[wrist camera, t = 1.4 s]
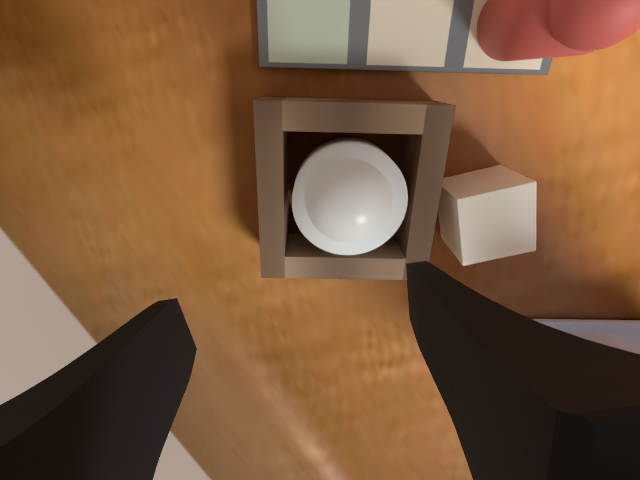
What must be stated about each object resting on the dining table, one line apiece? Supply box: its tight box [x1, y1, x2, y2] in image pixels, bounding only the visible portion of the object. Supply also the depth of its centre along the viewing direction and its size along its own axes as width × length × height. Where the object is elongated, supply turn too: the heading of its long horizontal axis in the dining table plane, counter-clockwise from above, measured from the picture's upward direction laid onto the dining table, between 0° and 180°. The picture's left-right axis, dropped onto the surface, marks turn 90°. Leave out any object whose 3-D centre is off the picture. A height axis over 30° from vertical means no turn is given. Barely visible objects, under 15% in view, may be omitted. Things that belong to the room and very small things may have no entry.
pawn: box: [477, 0, 640, 61], centre depth 13 cm, size 3×3×7 cm
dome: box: [292, 137, 408, 255], centre depth 17 cm, size 5×5×4 cm
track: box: [257, 0, 552, 75], centre depth 16 cm, size 14×4×1 cm, turn 89°
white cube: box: [438, 165, 537, 266], centre depth 18 cm, size 4×4×4 cm
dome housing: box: [253, 97, 456, 280], centre depth 18 cm, size 8×8×3 cm
